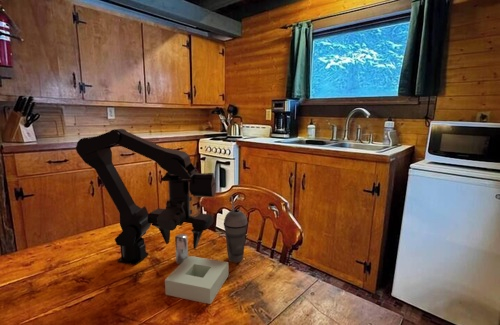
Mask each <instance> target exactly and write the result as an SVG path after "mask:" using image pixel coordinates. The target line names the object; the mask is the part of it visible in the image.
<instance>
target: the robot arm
mask: <svg viewBox="0 0 500 325" xmlns="http://www.w3.org/2000/svg"><path fill="white" fill-rule="evenodd" d="M117 146H120V147H122V148H125V149H126V150H129V151H131V152H134V153H136V154H138V155H139V156H140V155H141V156H143V157H145V158H147V159H149V160H151V161H153V162H155V163H156V164H157V165H158V166H159V167H160V168H161V169H163V170H164V171H166V172H165V175H164V176H162V177H161V178H160V181H161V182H168V198H169V199H168V200H166V203H165V208H161V207H158V208H156V209H154V210H152V211H151V212H148V209H147V207H146V206H142V207H140V206H139V205H137V204H136V203H135V201H134V199H133V197H132V196H131V193H130V192H129V190H128V188H127V186H126V185H125V183H124V181H123V179H122V178H121V176H120V174H119V171H118V170H117V168H116V167H115V165H114V164H113V152H112V148H114V147H117ZM75 150H76V153H77V154H78V156H79V157H80V158H81V159H82V161H83V162H84V163H85V164H87V166H89V167H91V168H93V169H94V171H95V173H96V175H97V176H98V177H99V179H100V180H101V183H102V185H103V186H104V188H105V190H106V192H107V193H108V196H109V197H110V199H111V200H112V203H113V204H114V206H115V207H116V209H117V211H118V213H119V214H118V215H119V225H120V228H121V232H120V233H119V234H118V235H117V236H116V237H115V238H114V242H115V244H116V245H117V246H118V247H119V246H120V248H119V249H120V258H118V259H117V262H118V263H122V264H126V265H127V264H128V265H133V266H136V265H138V264H139V263H140V262H141V261H142V260H144V259H145V258H146V257H148V256H149V252H147V247H146V243H145V238H144V237H143V236H145V235H146V234H147V231H149V229H150V228H151V226H152V227H155V228H157V229H158V231H159V232H160V233H161V236H162V238H163V240H164V242H165V245H168V244H169V243H170V238H171V231H175V229H177V226H181V227H182V225H183V224H184V223H186V224H191V227H192V229H191V232H192V233H193V236H192V237H193V238H192V239H193V240H192V244H193V246H192V247H193V249H194V250H196V248H197V247H198V246H199V245H198V244H199V243H200V242H199V241H200V240H201V237H202V235H203V232H204V231H207V230H208V229H209V228H210V226H212V225H213V224H214V218H213V216H212V214H208V213H200V212H199V214H198V215H196V216H193V215H192V214H193V209H191V204H190V203H191V201H192V200H193V197H195V198H196V197H197V198H215V196H216V191H217V182H216V179H215V177H214V176H215V174H214V173H213V172H208V173H207V172H206V173H202V172H200V173H199V171H198V169H197V168H196V167H195V165H194V164H193V163H192V160H191V157H190V154H188V152H185V151H183V150H179V149H176V148H167V147H163V146H160V145H159V144H156V143H154V142H151V141H149V140H146V139H144V138H142V137H140V136H138V135H135V134H134V133H131V132H129V131H127V130H126V129H124V128H117V129H111V130H110V131H108V132H106V133H102V134H99V135H96V136H95V135H94V136H87V137H82V138H81V139H79V140H78V141H77V143H76V146H75ZM190 195H192V196H193V197H192V196H190ZM191 215H192V216H191Z"/></svg>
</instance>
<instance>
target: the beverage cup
mask: <svg viewBox="0 0 500 325" xmlns="http://www.w3.org/2000/svg"><path fill="white" fill-rule="evenodd" d="M230 201H231V208H232V210H229V212H227V213H226V214H225V217H224V220H223V227H224V231H225V241H226V249H227V252H226V253H227V258H228V261H229V262H231V263H240V262H242V261H244V260H243V259H244V254H245V244H246V243H245V242H246V234H247V233H246V231H247V229H248V228H247V227H248V224H249V222H248V219H247V216H246V214H245V212H243V211H241V210H239V209H235V206H234V197H233V195H230Z"/></svg>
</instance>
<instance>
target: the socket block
mask: <svg viewBox="0 0 500 325" xmlns="http://www.w3.org/2000/svg"><path fill="white" fill-rule="evenodd" d="M228 277H229V262H228V261H223V260H217V259H211V258H205V257H204V258H203V257H198V256H194V255H188V257H187V258H186V259H185V260H184V261H183V262H182V263H181V264H178V266H177V267H176V268H175V269H174V270H172V272H171V273H170V274H169V275H168V276H167V277H166V278H165V279H164V288H165V290H164V291H165V295H166V296H170V297H174V298H175V297H176V298H179V299H180V298H181V299H184V300H188V301H193V302H199V303H203V304H209V305H211V304H212V303H213V301H214V299H215V298H216V296H217V295H218V293H219V291H220V290H221V288H223V287H222V286H223V285H224V284H225V282H226V280H227V278H228Z"/></svg>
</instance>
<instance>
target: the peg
mask: <svg viewBox="0 0 500 325" xmlns="http://www.w3.org/2000/svg"><path fill="white" fill-rule="evenodd" d="M174 242H175V243H174V244H175V263H176V264H177V265H180V264H181V263H182V262H183V261H184V260H185V259H186V258H187V257H188V256H189V251H188V250H189V247H188V246H189V243H188V235H187V234H186V233H179V234H176V235H175V236H174Z"/></svg>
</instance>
